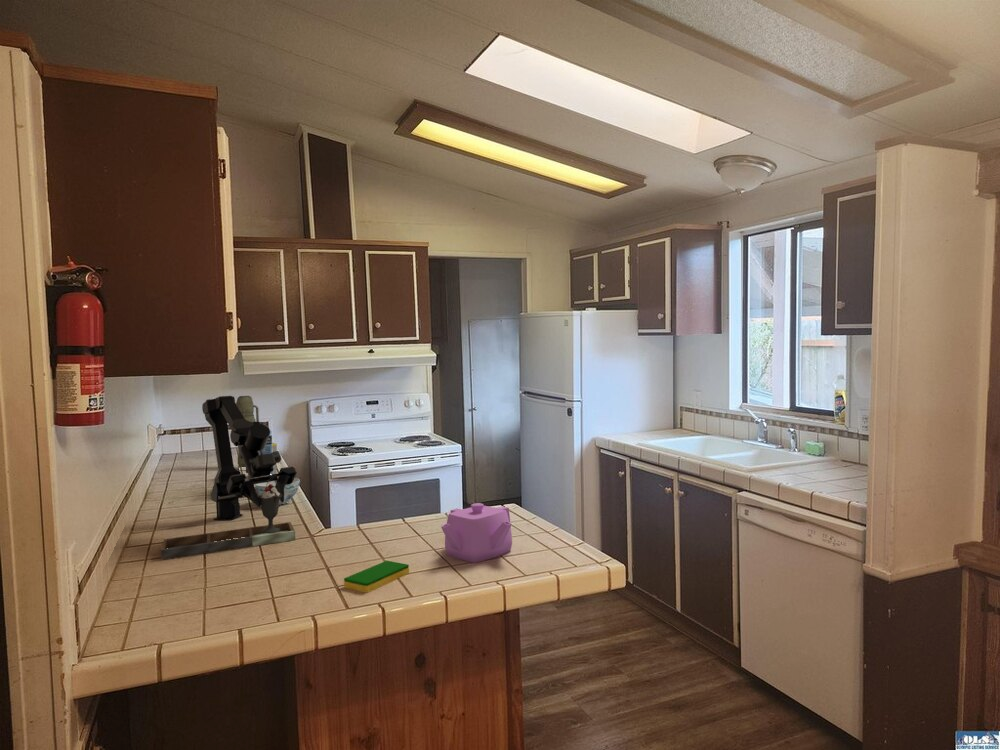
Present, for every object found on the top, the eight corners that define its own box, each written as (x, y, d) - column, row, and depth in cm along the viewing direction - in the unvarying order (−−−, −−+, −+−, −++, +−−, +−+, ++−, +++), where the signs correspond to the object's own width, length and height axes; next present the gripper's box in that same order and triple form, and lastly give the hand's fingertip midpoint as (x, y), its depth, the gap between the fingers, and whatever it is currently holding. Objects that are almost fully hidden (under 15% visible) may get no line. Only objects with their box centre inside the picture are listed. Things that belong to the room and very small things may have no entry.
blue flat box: (261, 487, 257) (258, 431, 256) (274, 485, 259) (271, 430, 258) (260, 496, 239) (257, 436, 238) (274, 495, 240) (271, 434, 240)
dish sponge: (410, 574, 146) (409, 564, 146) (366, 594, 135) (366, 583, 135) (387, 570, 150) (386, 559, 150) (343, 589, 139) (342, 578, 139)
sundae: (265, 535, 176) (263, 481, 175) (254, 531, 180) (252, 479, 180) (287, 530, 180) (285, 478, 180) (276, 526, 185) (274, 475, 184)
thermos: (263, 468, 304) (259, 395, 303) (237, 471, 298) (233, 397, 297) (259, 466, 312) (255, 395, 311) (233, 469, 305) (229, 396, 304)
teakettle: (511, 541, 168) (509, 495, 168) (513, 562, 151) (511, 510, 151) (447, 544, 168) (445, 498, 168) (442, 565, 151) (440, 513, 151)
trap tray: (161, 559, 164) (160, 550, 164) (164, 548, 174) (164, 539, 174) (295, 540, 177) (295, 531, 177) (290, 530, 188) (290, 522, 188)
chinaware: (284, 497, 236) (283, 476, 236) (309, 501, 227) (308, 479, 227) (247, 505, 224) (246, 483, 223) (273, 510, 215) (271, 487, 215)
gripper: (228, 447, 176) (244, 492, 168) (292, 439, 189) (310, 481, 181) (219, 471, 182) (235, 516, 174) (282, 462, 195) (300, 504, 187)
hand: (271, 503), depth 179 cm, fingers closed on sundae, 6 cm apart
